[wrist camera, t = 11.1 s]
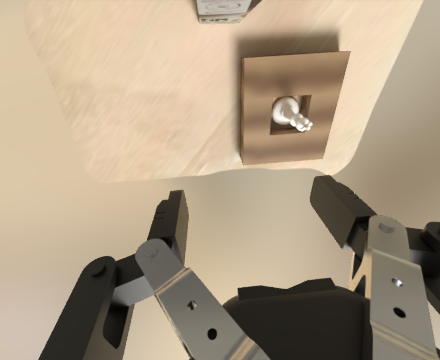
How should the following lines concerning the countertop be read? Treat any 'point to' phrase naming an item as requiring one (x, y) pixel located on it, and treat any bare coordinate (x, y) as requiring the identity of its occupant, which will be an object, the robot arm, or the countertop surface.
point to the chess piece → (289, 114)
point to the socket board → (281, 87)
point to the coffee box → (224, 10)
